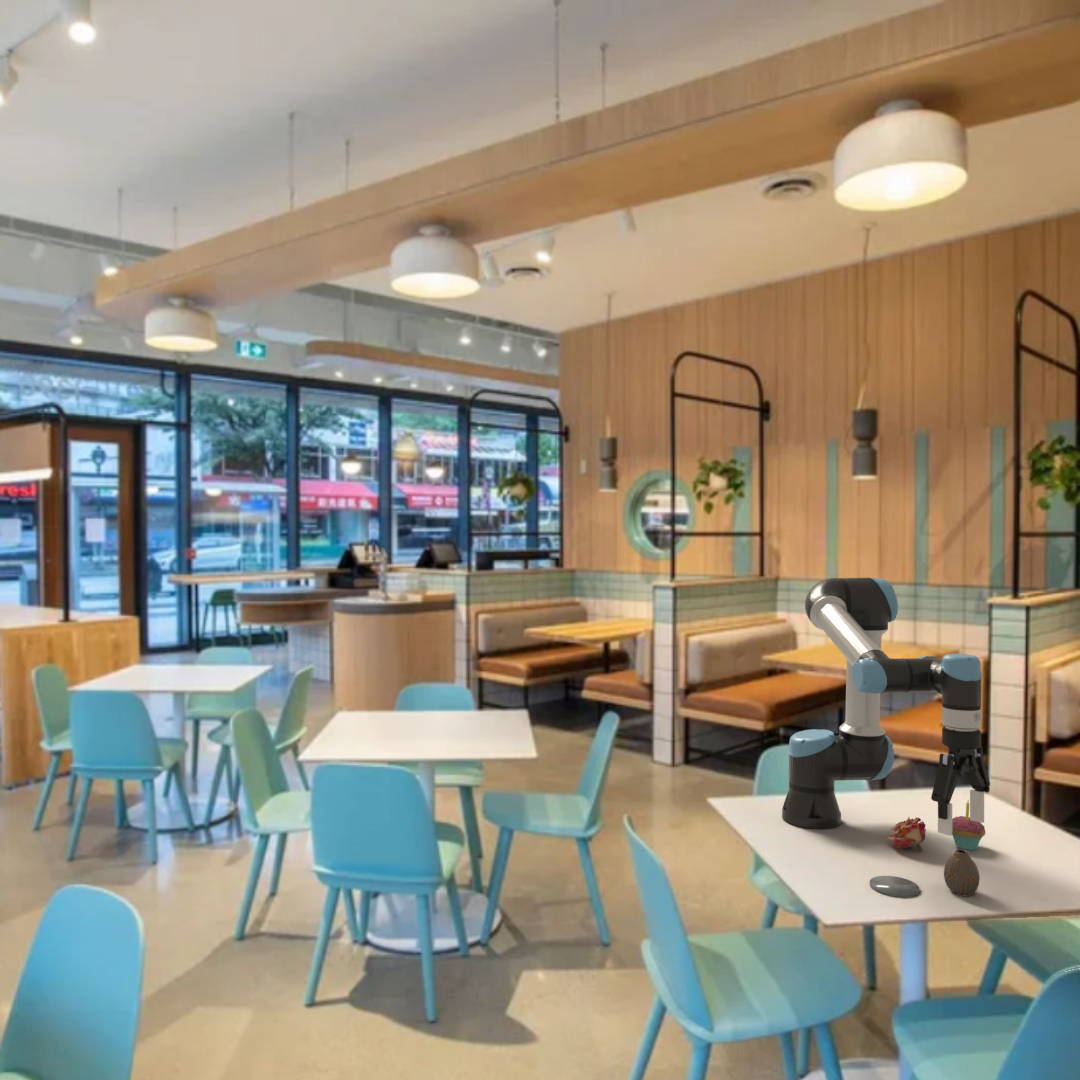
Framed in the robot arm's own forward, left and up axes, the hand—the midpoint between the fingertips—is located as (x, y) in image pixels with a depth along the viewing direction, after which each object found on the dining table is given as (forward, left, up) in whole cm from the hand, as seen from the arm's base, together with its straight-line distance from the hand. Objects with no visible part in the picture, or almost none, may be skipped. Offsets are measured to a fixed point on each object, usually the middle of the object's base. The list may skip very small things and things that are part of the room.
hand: (961, 827), depth 187 cm
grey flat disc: (-10, -9, -14) cm, 19 cm away
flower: (-21, +15, -14) cm, 30 cm away
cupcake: (-13, +28, -14) cm, 34 cm away
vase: (0, 0, -14) cm, 14 cm away
